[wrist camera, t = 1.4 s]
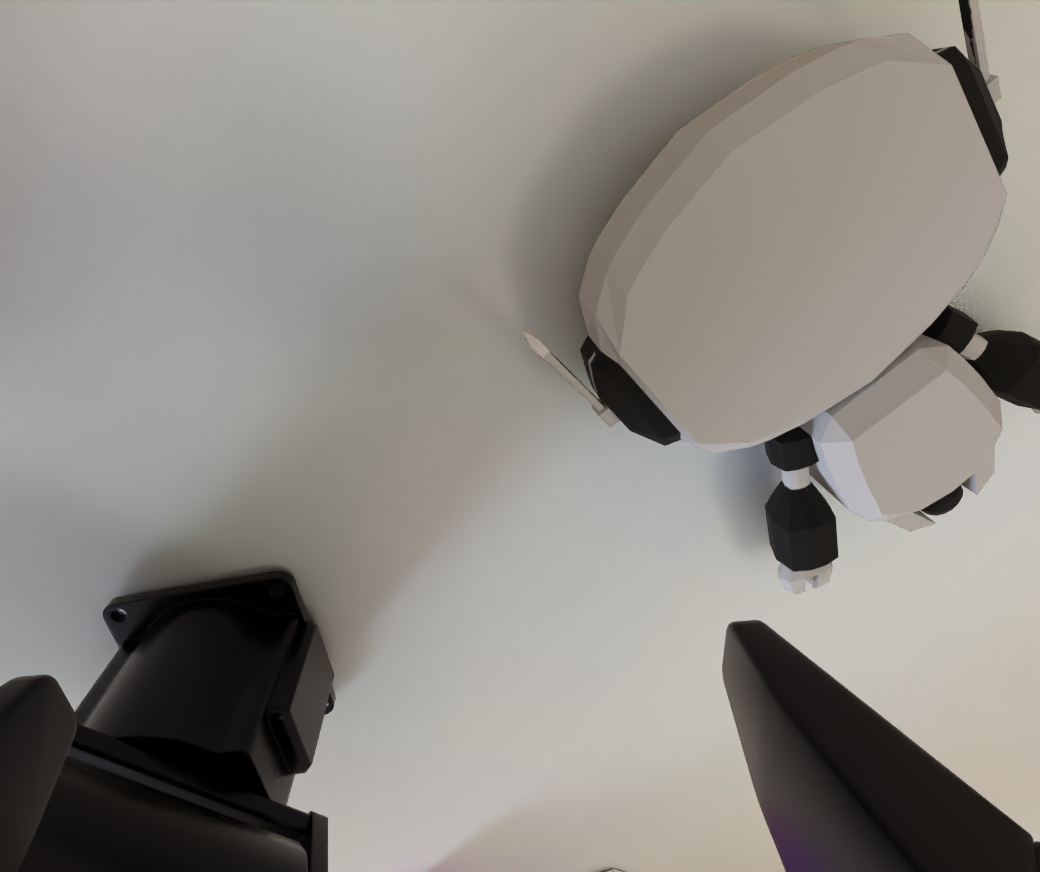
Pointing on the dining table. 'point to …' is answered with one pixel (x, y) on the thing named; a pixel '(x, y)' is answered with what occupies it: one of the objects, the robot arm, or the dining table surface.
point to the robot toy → (818, 288)
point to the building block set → (613, 870)
